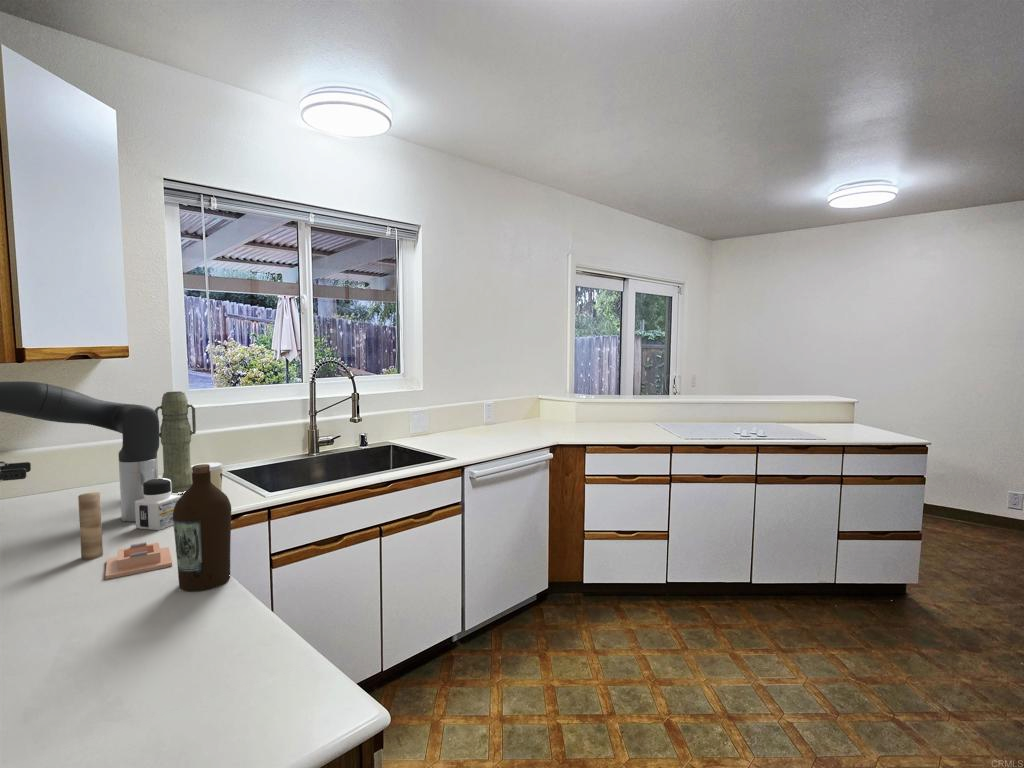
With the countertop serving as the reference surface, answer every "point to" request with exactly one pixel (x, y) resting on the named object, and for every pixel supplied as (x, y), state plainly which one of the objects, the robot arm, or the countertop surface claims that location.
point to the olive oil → (202, 533)
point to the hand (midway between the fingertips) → (28, 470)
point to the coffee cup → (213, 473)
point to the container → (155, 505)
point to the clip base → (138, 560)
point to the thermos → (176, 439)
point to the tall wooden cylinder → (90, 525)
